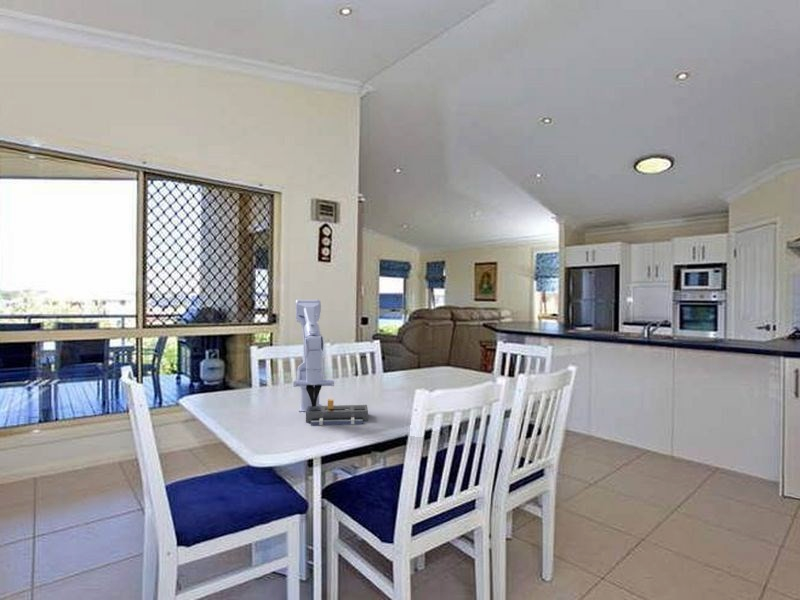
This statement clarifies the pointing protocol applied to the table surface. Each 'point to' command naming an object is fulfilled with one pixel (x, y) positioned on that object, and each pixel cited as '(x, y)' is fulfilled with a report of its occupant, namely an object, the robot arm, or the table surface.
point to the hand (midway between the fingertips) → (314, 405)
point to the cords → (336, 421)
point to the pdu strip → (337, 412)
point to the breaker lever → (330, 403)
